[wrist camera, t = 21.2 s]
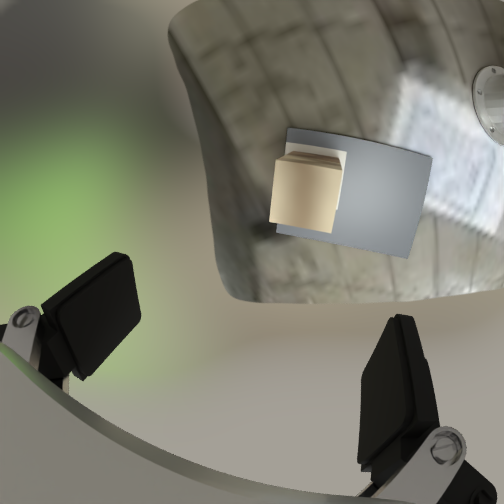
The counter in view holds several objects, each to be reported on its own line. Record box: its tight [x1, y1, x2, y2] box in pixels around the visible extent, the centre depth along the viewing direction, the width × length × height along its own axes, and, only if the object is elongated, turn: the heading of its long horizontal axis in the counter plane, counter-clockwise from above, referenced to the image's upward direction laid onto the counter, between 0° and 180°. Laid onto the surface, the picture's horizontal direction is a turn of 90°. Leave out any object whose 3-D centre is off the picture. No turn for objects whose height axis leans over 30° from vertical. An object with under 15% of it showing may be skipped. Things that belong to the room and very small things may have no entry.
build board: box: [276, 128, 433, 259], centre depth 34 cm, size 20×15×1 cm
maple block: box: [269, 154, 343, 233], centre depth 27 cm, size 6×6×6 cm
